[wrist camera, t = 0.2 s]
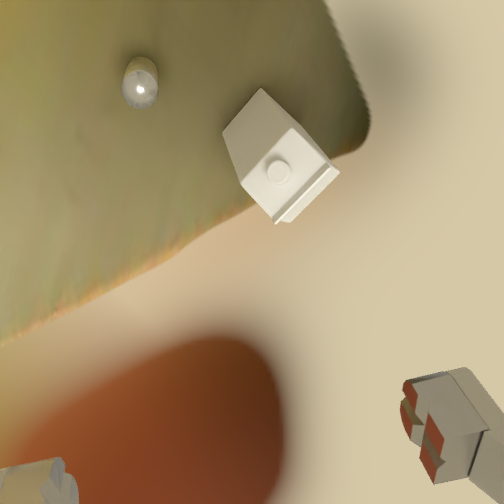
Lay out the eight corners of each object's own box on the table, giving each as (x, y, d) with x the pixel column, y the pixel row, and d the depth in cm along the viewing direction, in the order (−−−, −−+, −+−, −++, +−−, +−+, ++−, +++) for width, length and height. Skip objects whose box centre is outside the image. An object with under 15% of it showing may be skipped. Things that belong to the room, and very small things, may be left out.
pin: (123, 58, 48) (117, 74, 42) (154, 55, 49) (154, 70, 42) (130, 90, 50) (126, 110, 44) (160, 87, 51) (160, 106, 44)
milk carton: (300, 124, 56) (355, 190, 40) (262, 166, 58) (300, 243, 43) (260, 86, 52) (303, 142, 37) (221, 132, 55) (246, 202, 39)
